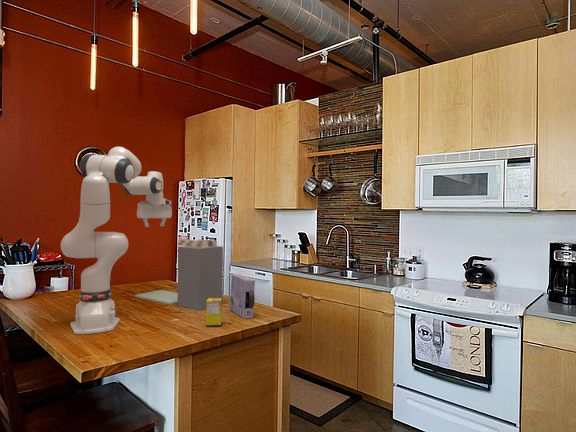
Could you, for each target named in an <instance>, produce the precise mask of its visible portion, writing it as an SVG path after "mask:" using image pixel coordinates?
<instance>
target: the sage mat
mask: <svg viewBox="0 0 576 432" xmlns="http://www.w3.org/2000/svg"><path fill="white" fill-rule="evenodd" d="M134 297H135V298H138V299H142V300H147V301H152V302H156V303H161V304H165V305H170V306H172V305H178V292H174V291H170V290H169V291H168V290H164V289H158V290H154V291H148V292H144V293H138V294H134Z"/></svg>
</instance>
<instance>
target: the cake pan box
mask: <svg viewBox="0 0 576 432" xmlns="http://www.w3.org/2000/svg"><path fill="white" fill-rule="evenodd" d="M230 280H231V281H230V301H229V302H230V303H229V310H230V311H231V312H233V313H235V314H236V316H239V317H241V318H242V319H244V320H247V318H249V319H253V318H254V307H255V299H256V297H255V288H256V287H255V283H256V281H255V280H254V279H252V278H249V277H247V276H245V275H243V274H241V273H236V274H235V273H231V279H230Z"/></svg>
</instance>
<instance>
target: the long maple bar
mask: <svg viewBox="0 0 576 432" xmlns="http://www.w3.org/2000/svg"><path fill="white" fill-rule="evenodd" d="M200 240H201V239H196V240H195V239H185V238H184V239H182V238H181V239H177V245H178V246H181V247H182V246H193V247H208V241H200Z"/></svg>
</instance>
